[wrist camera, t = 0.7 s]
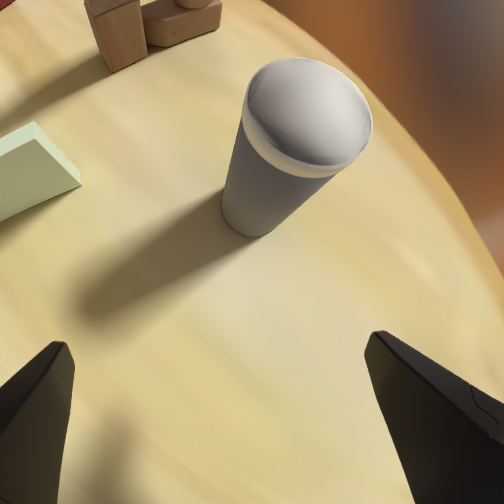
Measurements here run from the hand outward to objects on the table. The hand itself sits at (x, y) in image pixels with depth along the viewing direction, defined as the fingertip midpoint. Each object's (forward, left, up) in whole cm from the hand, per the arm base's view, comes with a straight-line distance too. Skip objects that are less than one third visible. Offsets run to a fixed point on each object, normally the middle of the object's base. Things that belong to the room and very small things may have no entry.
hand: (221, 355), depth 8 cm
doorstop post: (+6, -6, -13) cm, 15 cm away
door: (+14, +12, -13) cm, 23 cm away
